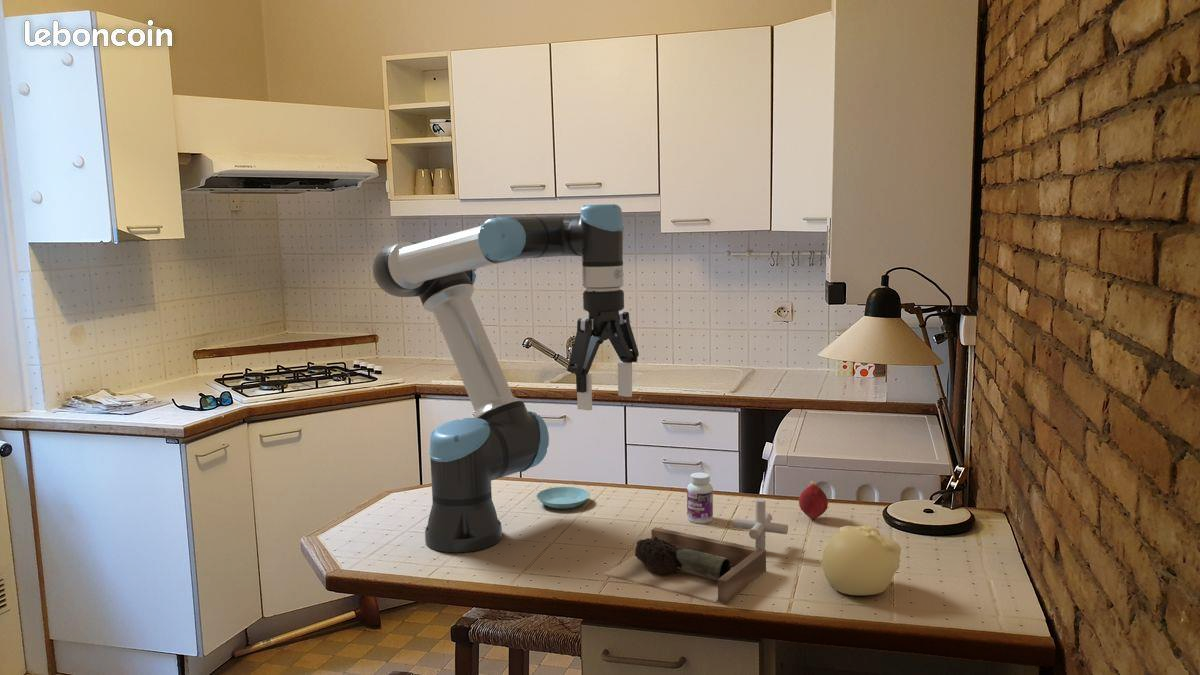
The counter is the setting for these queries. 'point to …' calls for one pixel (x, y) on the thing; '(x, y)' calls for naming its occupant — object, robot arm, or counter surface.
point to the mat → (666, 580)
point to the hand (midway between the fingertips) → (605, 402)
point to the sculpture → (860, 560)
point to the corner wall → (743, 558)
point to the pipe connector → (760, 525)
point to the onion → (813, 501)
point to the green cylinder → (679, 559)
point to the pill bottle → (700, 498)
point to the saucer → (563, 497)
